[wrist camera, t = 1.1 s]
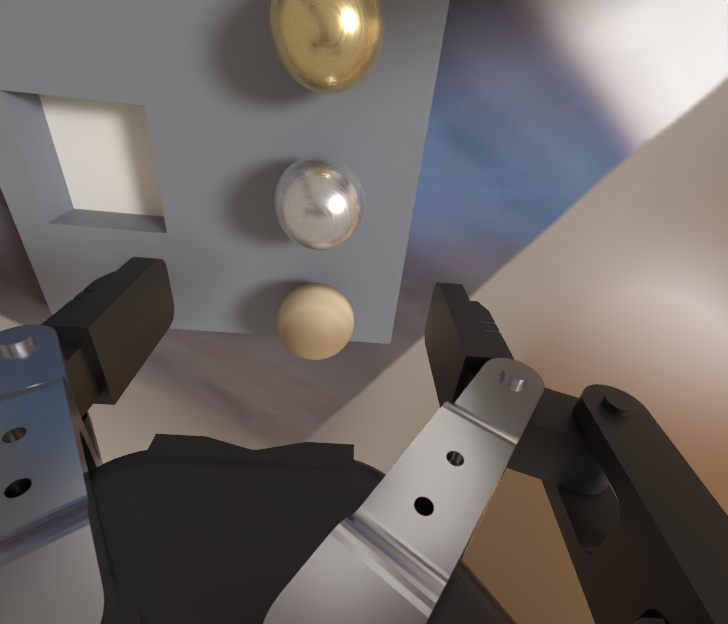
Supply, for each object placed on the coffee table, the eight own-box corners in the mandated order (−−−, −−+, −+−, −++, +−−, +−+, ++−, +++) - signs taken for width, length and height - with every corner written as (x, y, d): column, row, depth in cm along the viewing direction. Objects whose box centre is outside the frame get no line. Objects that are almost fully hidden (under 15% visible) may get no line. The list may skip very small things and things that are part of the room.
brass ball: (278, -43, 16) (254, -73, 12) (388, -28, 16) (397, -53, 12) (280, 85, 18) (260, 92, 15) (375, 95, 19) (380, 105, 15)
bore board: (-54, -98, 17) (-126, -125, 14) (443, -29, 18) (457, -42, 16) (81, 296, 28) (54, 320, 25) (387, 319, 29) (390, 343, 27)
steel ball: (281, 141, 20) (263, 162, 16) (369, 151, 20) (373, 173, 16) (282, 227, 22) (267, 262, 18) (361, 233, 22) (362, 269, 19)
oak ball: (282, 266, 23) (268, 306, 20) (357, 272, 24) (357, 313, 20) (283, 327, 26) (271, 373, 22) (351, 332, 26) (350, 378, 22)
